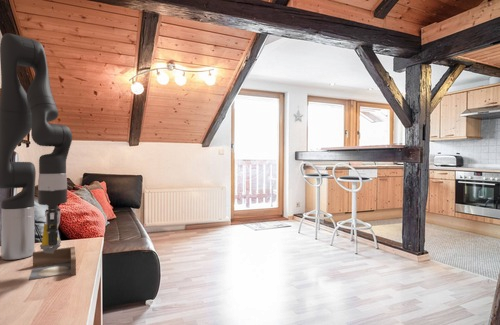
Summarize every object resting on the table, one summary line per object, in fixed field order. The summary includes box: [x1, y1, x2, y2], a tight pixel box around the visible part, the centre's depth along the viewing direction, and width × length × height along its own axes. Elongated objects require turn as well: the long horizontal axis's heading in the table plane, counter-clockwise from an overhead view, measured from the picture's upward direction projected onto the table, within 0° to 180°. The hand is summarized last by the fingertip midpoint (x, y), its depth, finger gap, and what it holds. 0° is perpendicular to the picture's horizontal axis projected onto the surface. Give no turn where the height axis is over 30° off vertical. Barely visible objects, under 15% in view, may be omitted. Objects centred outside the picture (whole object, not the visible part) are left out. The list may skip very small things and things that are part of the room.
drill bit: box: [39, 222, 62, 254], centre depth 93 cm, size 5×5×10 cm
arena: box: [28, 246, 77, 281], centre depth 95 cm, size 15×12×5 cm
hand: (53, 242), depth 93 cm, fingers closed on drill bit, 5 cm apart
